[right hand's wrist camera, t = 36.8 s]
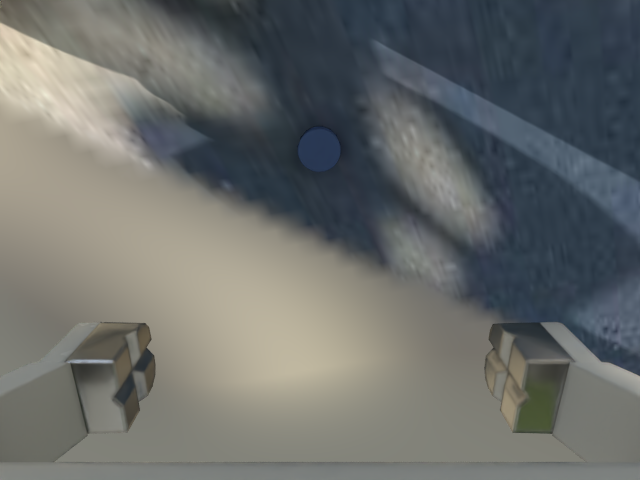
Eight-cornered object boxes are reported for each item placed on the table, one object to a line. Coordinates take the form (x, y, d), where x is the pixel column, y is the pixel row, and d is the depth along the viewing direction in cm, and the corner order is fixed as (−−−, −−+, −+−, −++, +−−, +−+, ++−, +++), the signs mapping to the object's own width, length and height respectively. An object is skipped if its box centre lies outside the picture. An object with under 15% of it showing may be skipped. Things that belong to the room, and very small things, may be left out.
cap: (329, 118, 40) (329, 120, 38) (346, 157, 41) (347, 161, 39) (291, 137, 41) (290, 140, 39) (309, 174, 42) (309, 179, 40)
